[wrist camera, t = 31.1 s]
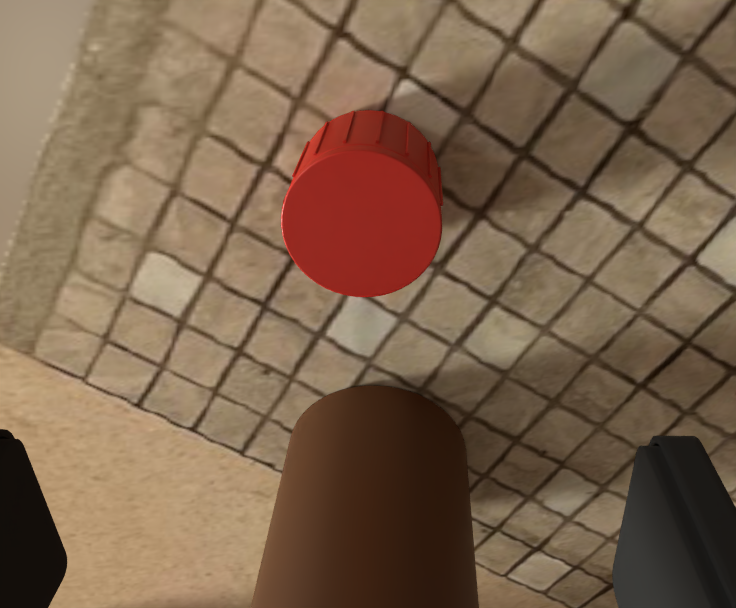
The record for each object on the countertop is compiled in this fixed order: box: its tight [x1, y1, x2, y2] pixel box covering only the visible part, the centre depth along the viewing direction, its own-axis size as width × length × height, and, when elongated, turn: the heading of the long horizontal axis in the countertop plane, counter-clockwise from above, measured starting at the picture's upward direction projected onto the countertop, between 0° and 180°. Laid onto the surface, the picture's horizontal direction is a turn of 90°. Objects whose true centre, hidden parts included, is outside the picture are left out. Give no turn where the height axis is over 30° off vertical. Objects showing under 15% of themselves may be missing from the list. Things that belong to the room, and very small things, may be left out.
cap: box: [281, 110, 443, 297], centre depth 18 cm, size 4×4×3 cm
